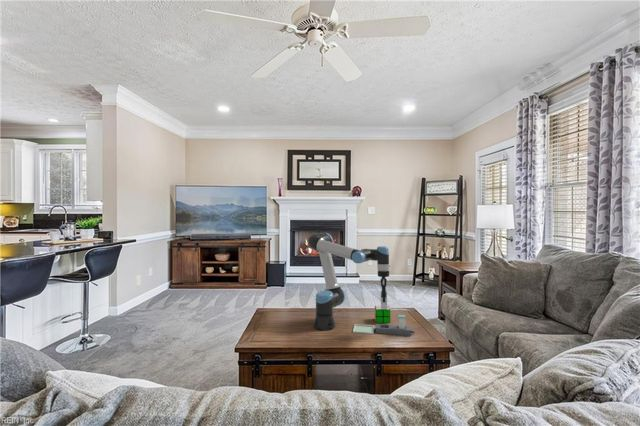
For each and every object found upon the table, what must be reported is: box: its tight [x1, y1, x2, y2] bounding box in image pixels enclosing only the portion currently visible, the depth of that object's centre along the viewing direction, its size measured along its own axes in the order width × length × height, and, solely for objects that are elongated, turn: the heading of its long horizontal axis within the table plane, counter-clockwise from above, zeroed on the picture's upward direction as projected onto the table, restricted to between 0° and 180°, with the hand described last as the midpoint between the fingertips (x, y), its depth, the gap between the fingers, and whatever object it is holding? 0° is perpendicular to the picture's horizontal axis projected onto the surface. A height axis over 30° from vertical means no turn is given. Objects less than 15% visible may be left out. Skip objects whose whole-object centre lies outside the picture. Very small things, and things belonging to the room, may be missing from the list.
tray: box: [352, 323, 375, 335], centre depth 199 cm, size 13×13×1 cm
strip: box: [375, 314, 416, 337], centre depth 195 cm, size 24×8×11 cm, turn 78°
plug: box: [380, 290, 388, 309], centre depth 196 cm, size 4×4×11 cm
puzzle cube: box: [374, 304, 391, 324], centre depth 216 cm, size 10×10×10 cm
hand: (384, 305), depth 196 cm, fingers closed on plug, 4 cm apart
